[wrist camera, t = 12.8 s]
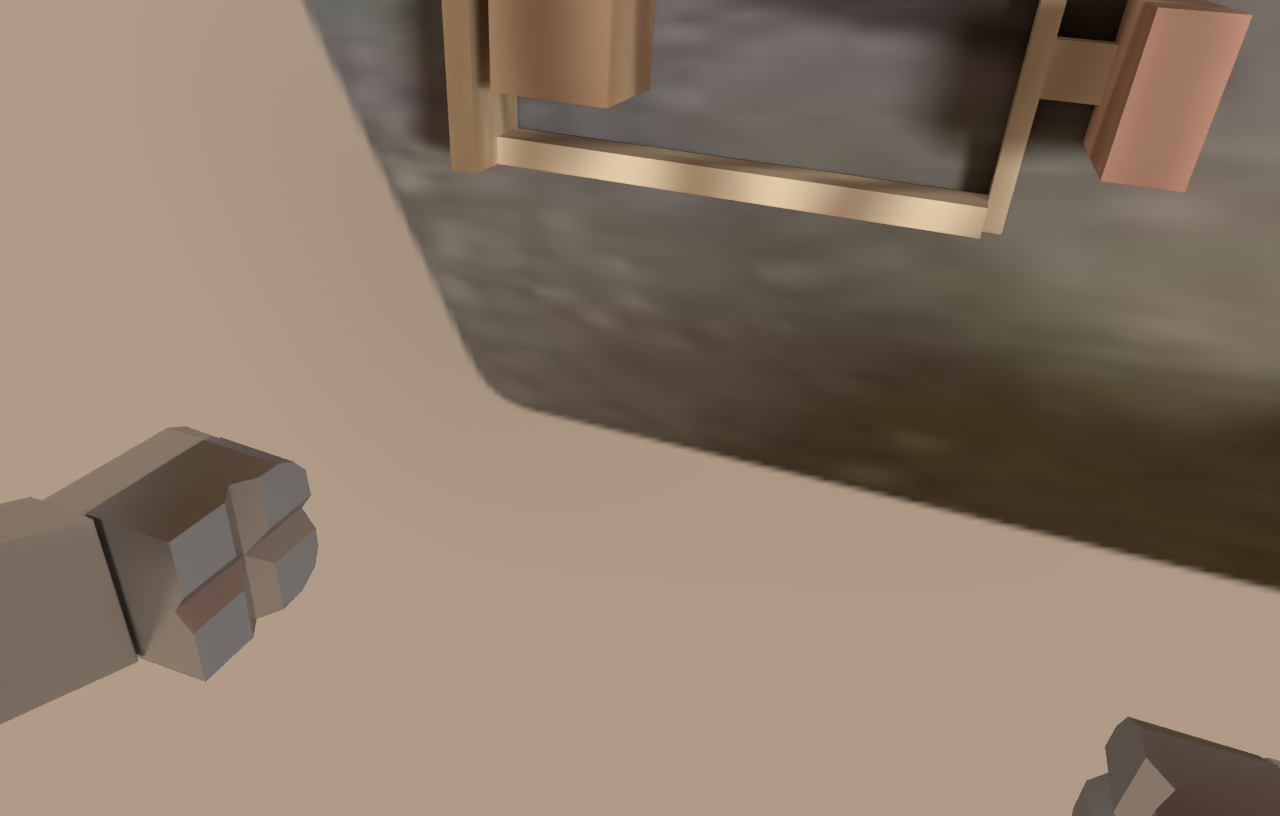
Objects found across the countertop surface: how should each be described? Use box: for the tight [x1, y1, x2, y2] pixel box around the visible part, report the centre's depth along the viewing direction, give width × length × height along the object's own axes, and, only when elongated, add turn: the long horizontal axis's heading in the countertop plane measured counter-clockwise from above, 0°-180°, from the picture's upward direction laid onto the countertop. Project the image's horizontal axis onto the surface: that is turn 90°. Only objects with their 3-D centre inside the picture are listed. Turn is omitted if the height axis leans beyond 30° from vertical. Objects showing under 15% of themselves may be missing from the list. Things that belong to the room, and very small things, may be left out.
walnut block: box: [488, 0, 655, 109], centre depth 34 cm, size 5×5×5 cm
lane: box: [442, 0, 1253, 239], centre depth 31 cm, size 27×12×6 cm, turn 87°
